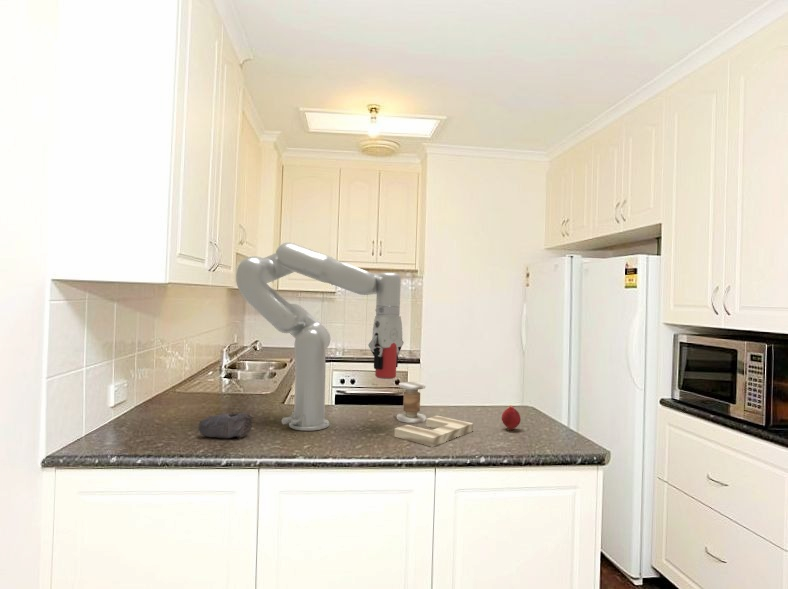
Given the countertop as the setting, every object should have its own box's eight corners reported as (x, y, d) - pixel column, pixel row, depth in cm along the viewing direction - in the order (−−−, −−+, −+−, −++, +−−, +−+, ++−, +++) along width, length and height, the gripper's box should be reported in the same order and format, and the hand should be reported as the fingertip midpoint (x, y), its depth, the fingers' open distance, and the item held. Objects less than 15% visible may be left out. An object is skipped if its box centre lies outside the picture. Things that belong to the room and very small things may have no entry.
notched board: (432, 447, 135) (433, 438, 135) (394, 436, 144) (394, 428, 144) (473, 431, 152) (473, 423, 152) (436, 422, 161) (436, 415, 161)
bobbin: (414, 424, 158) (415, 388, 158) (390, 419, 165) (391, 383, 165) (431, 419, 166) (432, 384, 166) (408, 414, 172) (409, 380, 172)
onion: (521, 429, 156) (522, 404, 156) (518, 433, 151) (518, 408, 151) (503, 426, 158) (504, 402, 158) (499, 430, 153) (500, 405, 153)
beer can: (396, 376, 156) (398, 339, 156) (394, 379, 149) (396, 341, 149) (376, 375, 157) (378, 338, 157) (373, 378, 150) (375, 340, 150)
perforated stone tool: (194, 439, 137) (195, 415, 137) (201, 434, 142) (202, 410, 142) (247, 440, 137) (248, 416, 137) (252, 435, 142) (253, 411, 142)
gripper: (378, 312, 144) (376, 372, 144) (413, 312, 157) (411, 367, 157) (360, 311, 149) (358, 369, 149) (396, 311, 162) (394, 364, 162)
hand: (385, 367), depth 153 cm, fingers closed on beer can, 6 cm apart
